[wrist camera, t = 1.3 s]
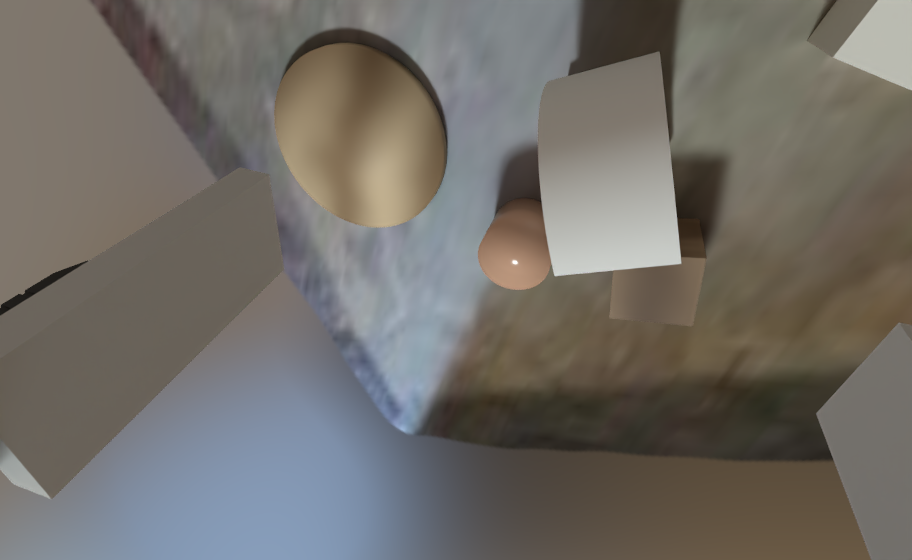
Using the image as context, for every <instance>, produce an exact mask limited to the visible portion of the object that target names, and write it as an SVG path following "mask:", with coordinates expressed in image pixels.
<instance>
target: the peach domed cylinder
mask: <svg viewBox="0 0 912 560" xmlns="http://www.w3.org/2000/svg"><path fill="white" fill-rule="evenodd" d="M478 259H479V263H480V266H481V268H482V270H483V272H484V273H485V274H486V276H487V277H488V278H489V279H491V280H492V281H493V282H495V283H496V284H498V285H500V286H502V287H505V288H508V289H513V290H524V289H529V288H532V287H534V286H536V285H538V284H539V283H541V282H542V281H543V280H544V279H545V277H546V276H547V274H548V272H549V269H550V265H551V258H550V253H549V248H548V242H547V236H546V230H545V224H544V217H543V209H542V202H539V201H537V200H534V199H529V198H519V199H514V200H511V201H509V202H507V203H505V204H504V205H503V206H502V207H501V208H500V209H499V210H498V212H497V213H496V215H495V217H494V219H493V221H492V223H491V225H490V227H489V229H488V230H487V232H486V234H485V236H484V238H483V240H482V242H481V244H480V246H479V250H478Z"/></svg>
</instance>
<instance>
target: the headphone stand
mask: <svg viewBox="0 0 912 560" xmlns="http://www.w3.org/2000/svg"><path fill="white" fill-rule="evenodd" d="M538 163H539V179H540V190H541V201H542V209H543V217H544V224H545V230H546V236H547V242H548V248H549V253H550V258H551V263H552V267H553V271H554V276H560V275H570V274H581V273H591V272H602V271H612V270H623V269H633V268H644V267H654V266H665V265H675V264H681V254H680V244H679V234H678V223H677V213H676V203H675V193H674V183H673V173H672V163H671V153H670V143H669V134H668V124H667V114H666V105H665V95H664V86H663V76H662V67H661V59H660V51H659V52H655V53H651V54H648V55H644V56H640V57H636V58H633V59H629V60H625V61H622V62H618V63H614V64H610V65H607V66H603V67H599V68H596V69H592V70H588V71H584V72H581V73H577V74H573V75H570V76H566V77H562V78H558V79H555V80H551V81H549V82H548V83H547V84H546V85H545V87H544V89H543V93H542V96H541V102H540V109H539V120H538Z"/></svg>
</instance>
